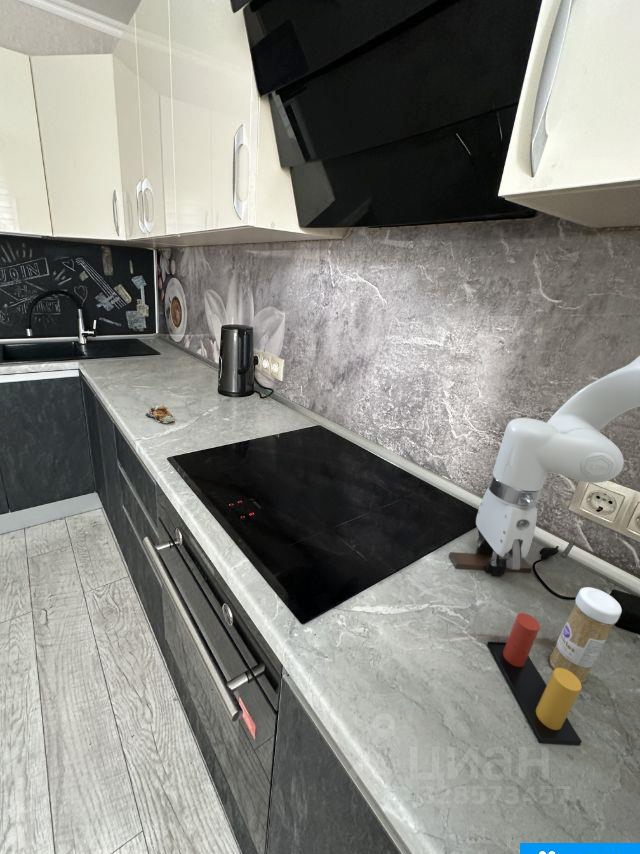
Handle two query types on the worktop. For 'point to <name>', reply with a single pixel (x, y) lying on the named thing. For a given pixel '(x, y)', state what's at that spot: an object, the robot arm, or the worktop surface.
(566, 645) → the sprinkles bottle
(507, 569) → the walnut bar
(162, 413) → the brown grey rock
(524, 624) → the rod stand
